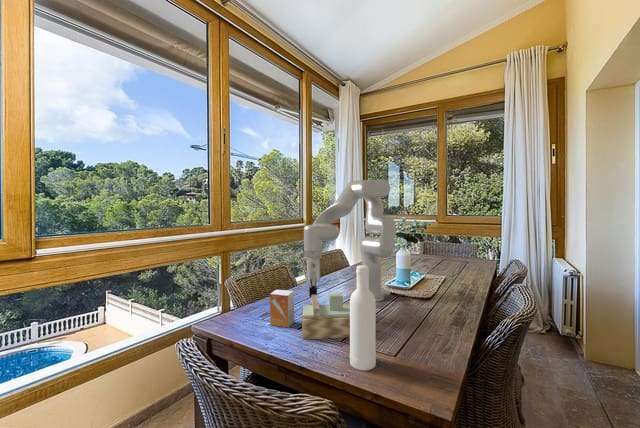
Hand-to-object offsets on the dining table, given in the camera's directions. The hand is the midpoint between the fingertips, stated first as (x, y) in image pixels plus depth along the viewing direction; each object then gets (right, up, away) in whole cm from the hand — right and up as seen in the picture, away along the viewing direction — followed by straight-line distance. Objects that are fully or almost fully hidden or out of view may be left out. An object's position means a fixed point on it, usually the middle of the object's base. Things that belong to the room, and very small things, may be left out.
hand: (313, 296), depth 125 cm
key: (+1, -1, -14) cm, 14 cm away
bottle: (+16, -11, -36) cm, 41 cm away
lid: (+6, -2, -13) cm, 15 cm away
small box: (-12, -10, -6) cm, 17 cm away
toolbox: (+6, -9, -13) cm, 17 cm away
